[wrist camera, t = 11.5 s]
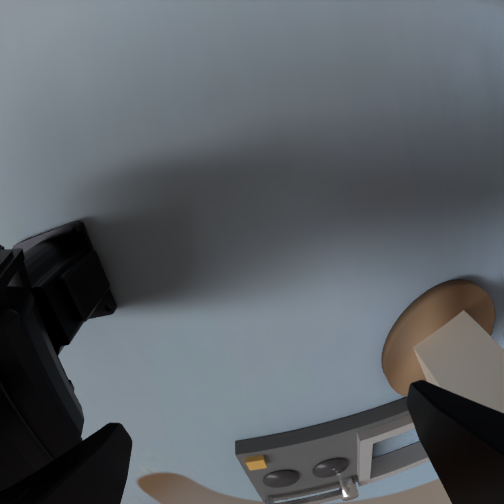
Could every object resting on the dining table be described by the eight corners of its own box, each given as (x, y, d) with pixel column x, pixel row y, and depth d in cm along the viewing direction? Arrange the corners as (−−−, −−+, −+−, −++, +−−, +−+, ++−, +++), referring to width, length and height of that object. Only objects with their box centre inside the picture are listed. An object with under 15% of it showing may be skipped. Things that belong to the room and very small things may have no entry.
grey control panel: (262, 491, 30) (264, 509, 28) (235, 441, 26) (235, 463, 23) (433, 442, 29) (441, 457, 27) (450, 378, 25) (462, 395, 23)
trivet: (380, 403, 25) (384, 412, 24) (380, 303, 21) (386, 312, 20) (477, 362, 25) (483, 369, 24) (493, 263, 21) (502, 269, 20)
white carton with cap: (426, 380, 23) (495, 496, 11) (412, 347, 21) (498, 480, 9) (472, 347, 22) (553, 449, 10) (463, 310, 21) (566, 421, 9)
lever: (266, 489, 30) (268, 517, 26) (262, 483, 29) (265, 512, 26) (350, 470, 30) (358, 497, 26) (350, 464, 29) (358, 492, 25)
